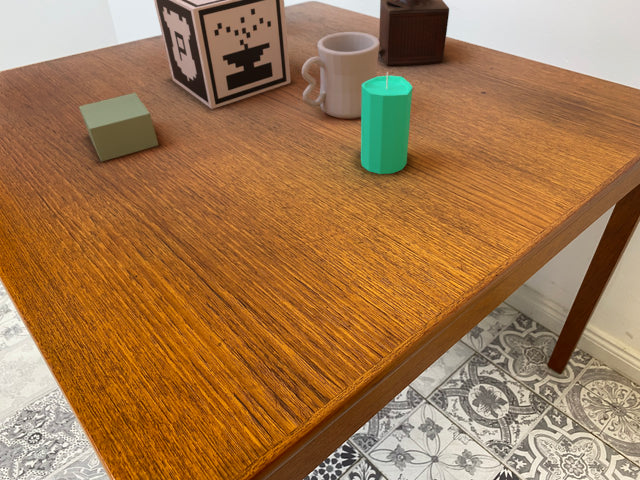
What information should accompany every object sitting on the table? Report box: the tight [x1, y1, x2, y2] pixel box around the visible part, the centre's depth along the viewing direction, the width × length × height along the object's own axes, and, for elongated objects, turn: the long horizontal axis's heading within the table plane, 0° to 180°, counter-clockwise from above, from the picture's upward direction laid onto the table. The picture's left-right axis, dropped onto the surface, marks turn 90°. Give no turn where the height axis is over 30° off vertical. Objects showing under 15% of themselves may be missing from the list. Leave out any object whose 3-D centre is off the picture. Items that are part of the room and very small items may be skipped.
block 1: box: [78, 92, 159, 162], centre depth 73 cm, size 8×8×5 cm
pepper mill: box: [378, 0, 450, 67], centre depth 88 cm, size 16×11×18 cm
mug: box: [301, 31, 380, 120], centre depth 76 cm, size 12×9×10 cm
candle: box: [360, 71, 413, 175], centre depth 64 cm, size 6×6×12 cm
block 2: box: [153, 0, 292, 110], centre depth 85 cm, size 15×15×15 cm
